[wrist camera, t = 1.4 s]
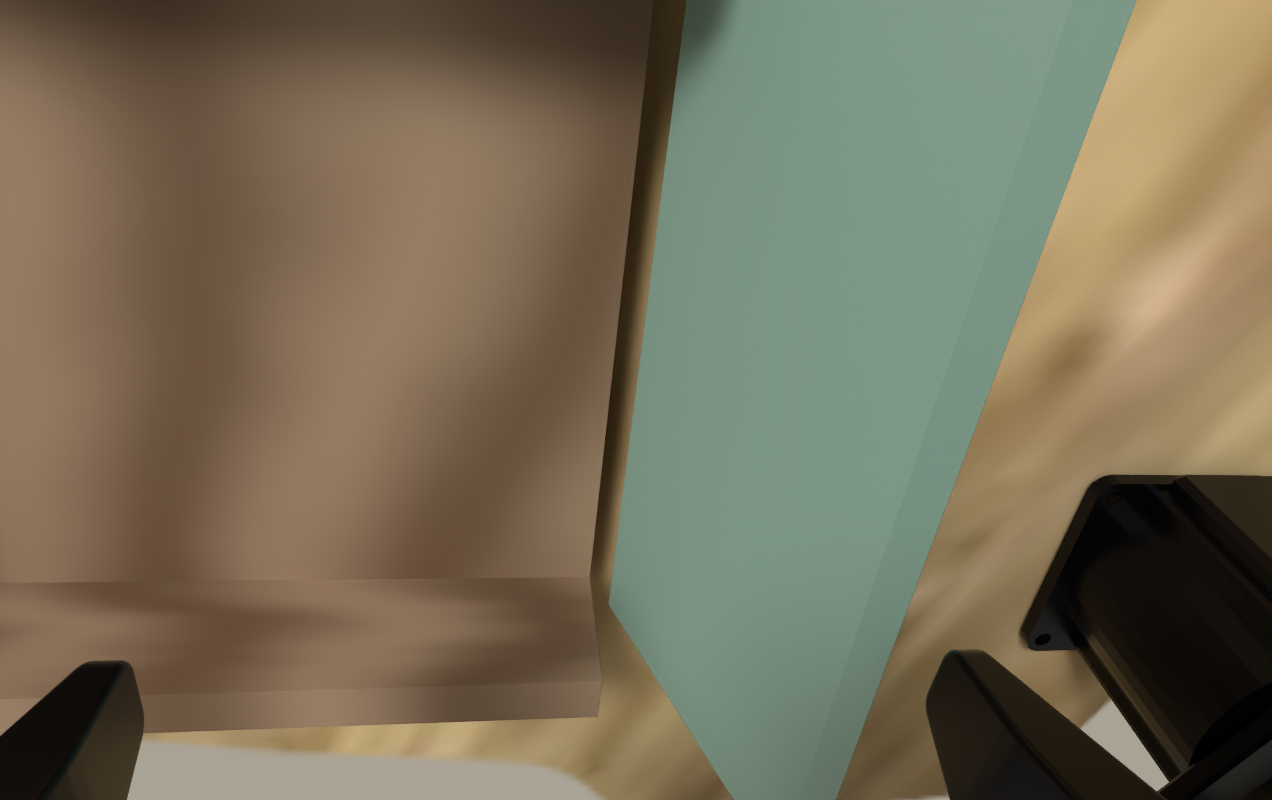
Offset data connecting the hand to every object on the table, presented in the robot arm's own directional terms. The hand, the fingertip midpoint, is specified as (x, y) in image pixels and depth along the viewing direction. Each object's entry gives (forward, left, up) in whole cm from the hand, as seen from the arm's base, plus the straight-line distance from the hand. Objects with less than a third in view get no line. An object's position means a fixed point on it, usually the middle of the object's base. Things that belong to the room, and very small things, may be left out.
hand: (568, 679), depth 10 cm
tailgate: (-1, -3, -10) cm, 10 cm away
